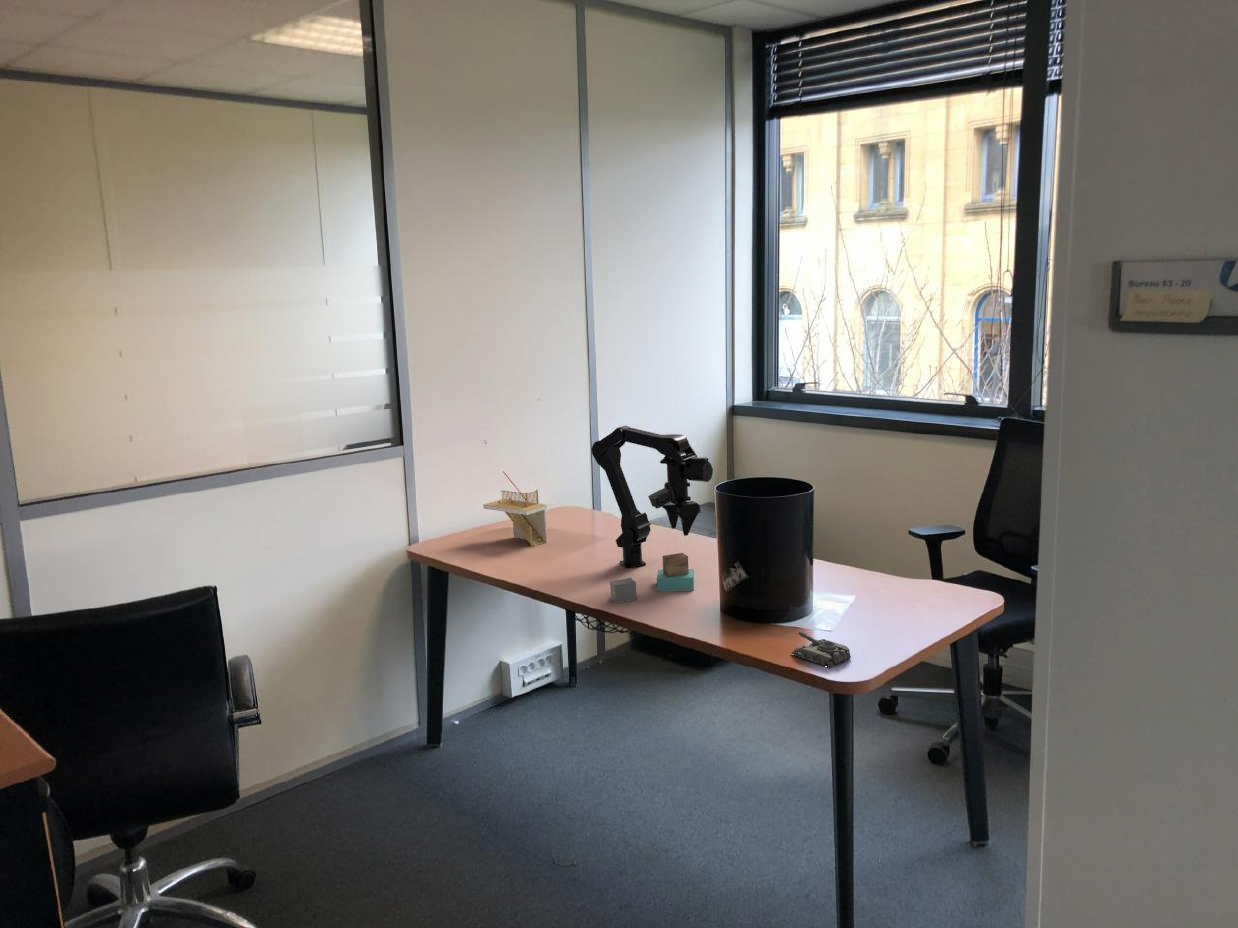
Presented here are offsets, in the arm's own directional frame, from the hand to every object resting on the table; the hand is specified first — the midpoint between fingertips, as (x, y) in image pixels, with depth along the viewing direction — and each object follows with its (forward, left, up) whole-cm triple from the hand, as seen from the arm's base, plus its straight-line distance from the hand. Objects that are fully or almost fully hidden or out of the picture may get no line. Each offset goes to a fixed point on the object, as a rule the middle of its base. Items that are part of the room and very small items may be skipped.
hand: (679, 531), depth 279 cm
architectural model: (-56, -34, -13) cm, 66 cm away
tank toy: (+73, +3, -13) cm, 74 cm away
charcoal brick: (+15, -23, -12) cm, 30 cm away
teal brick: (+11, -6, -12) cm, 18 cm away
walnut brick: (+11, -6, -8) cm, 15 cm away
